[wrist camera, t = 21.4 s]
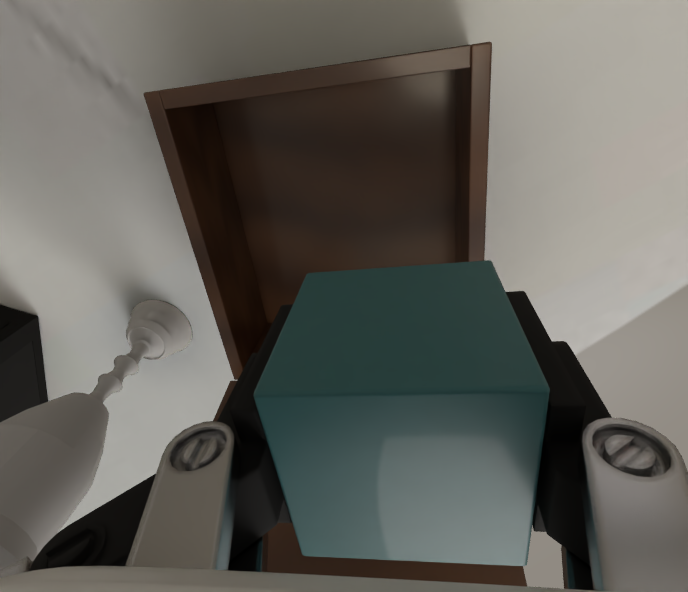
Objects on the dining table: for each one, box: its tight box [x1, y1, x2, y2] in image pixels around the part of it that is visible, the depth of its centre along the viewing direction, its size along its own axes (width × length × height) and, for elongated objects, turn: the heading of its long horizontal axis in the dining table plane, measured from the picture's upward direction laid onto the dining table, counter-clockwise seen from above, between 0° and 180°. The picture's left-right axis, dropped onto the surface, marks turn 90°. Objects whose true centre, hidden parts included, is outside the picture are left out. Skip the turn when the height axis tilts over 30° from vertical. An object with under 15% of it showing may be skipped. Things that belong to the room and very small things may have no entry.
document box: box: [144, 42, 492, 380], centre depth 24 cm, size 17×15×6 cm
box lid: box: [213, 381, 527, 587], centre depth 19 cm, size 17×15×5 cm
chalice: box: [0, 300, 192, 570], centre depth 25 cm, size 7×7×18 cm
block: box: [254, 260, 550, 566], centre depth 9 cm, size 4×4×4 cm
